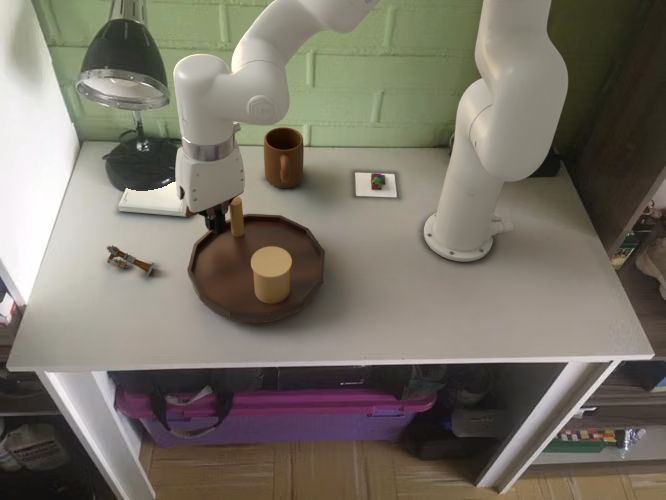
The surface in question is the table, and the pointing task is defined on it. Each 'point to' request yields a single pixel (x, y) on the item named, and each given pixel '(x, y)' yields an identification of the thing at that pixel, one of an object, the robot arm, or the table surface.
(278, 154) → the mug
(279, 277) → the tan cylinder
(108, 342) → the table surface
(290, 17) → the robot arm
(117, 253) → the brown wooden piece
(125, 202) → the hard drive
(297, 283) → the tray
